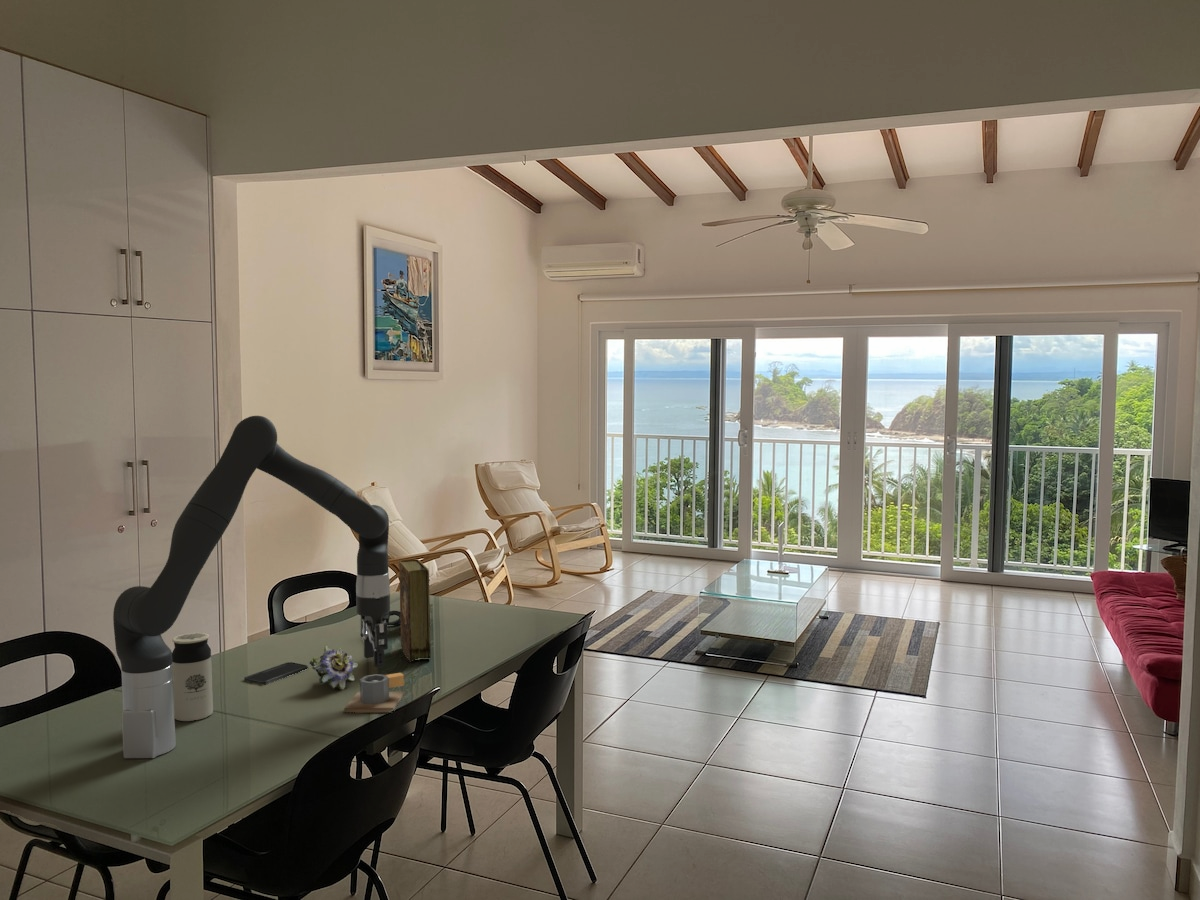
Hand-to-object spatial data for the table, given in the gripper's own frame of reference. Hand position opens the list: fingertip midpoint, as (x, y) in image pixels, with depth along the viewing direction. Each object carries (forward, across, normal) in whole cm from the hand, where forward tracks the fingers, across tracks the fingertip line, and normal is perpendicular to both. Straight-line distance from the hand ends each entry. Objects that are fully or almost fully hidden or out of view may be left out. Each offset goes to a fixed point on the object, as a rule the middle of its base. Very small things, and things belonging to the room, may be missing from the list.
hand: (374, 662), depth 205 cm
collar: (+9, -1, +2) cm, 9 cm away
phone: (+10, -35, -16) cm, 40 cm away
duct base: (+10, -1, 0) cm, 10 cm away
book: (+10, -34, +20) cm, 41 cm away
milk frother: (+10, -64, +27) cm, 70 cm away
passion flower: (+10, -19, -5) cm, 22 cm away
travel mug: (+11, -14, -37) cm, 41 cm away
